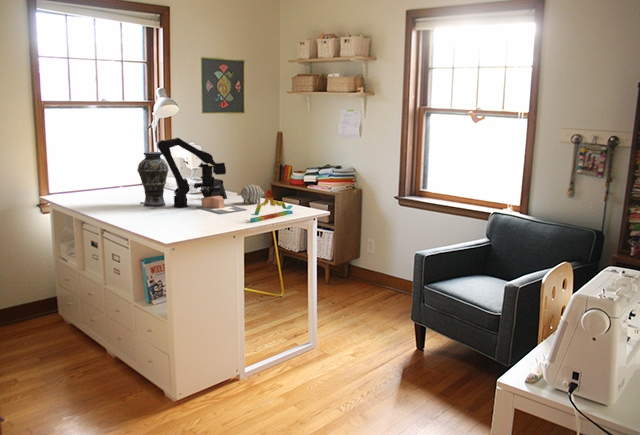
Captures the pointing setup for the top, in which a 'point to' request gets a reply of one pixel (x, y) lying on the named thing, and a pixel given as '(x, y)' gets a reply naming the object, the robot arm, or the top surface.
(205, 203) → the t block
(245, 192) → the toy sheep
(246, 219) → the top surface
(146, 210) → the top surface
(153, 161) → the vase
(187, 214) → the top surface
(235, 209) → the mat
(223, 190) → the phone stand
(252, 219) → the multicoloured triangular frame
